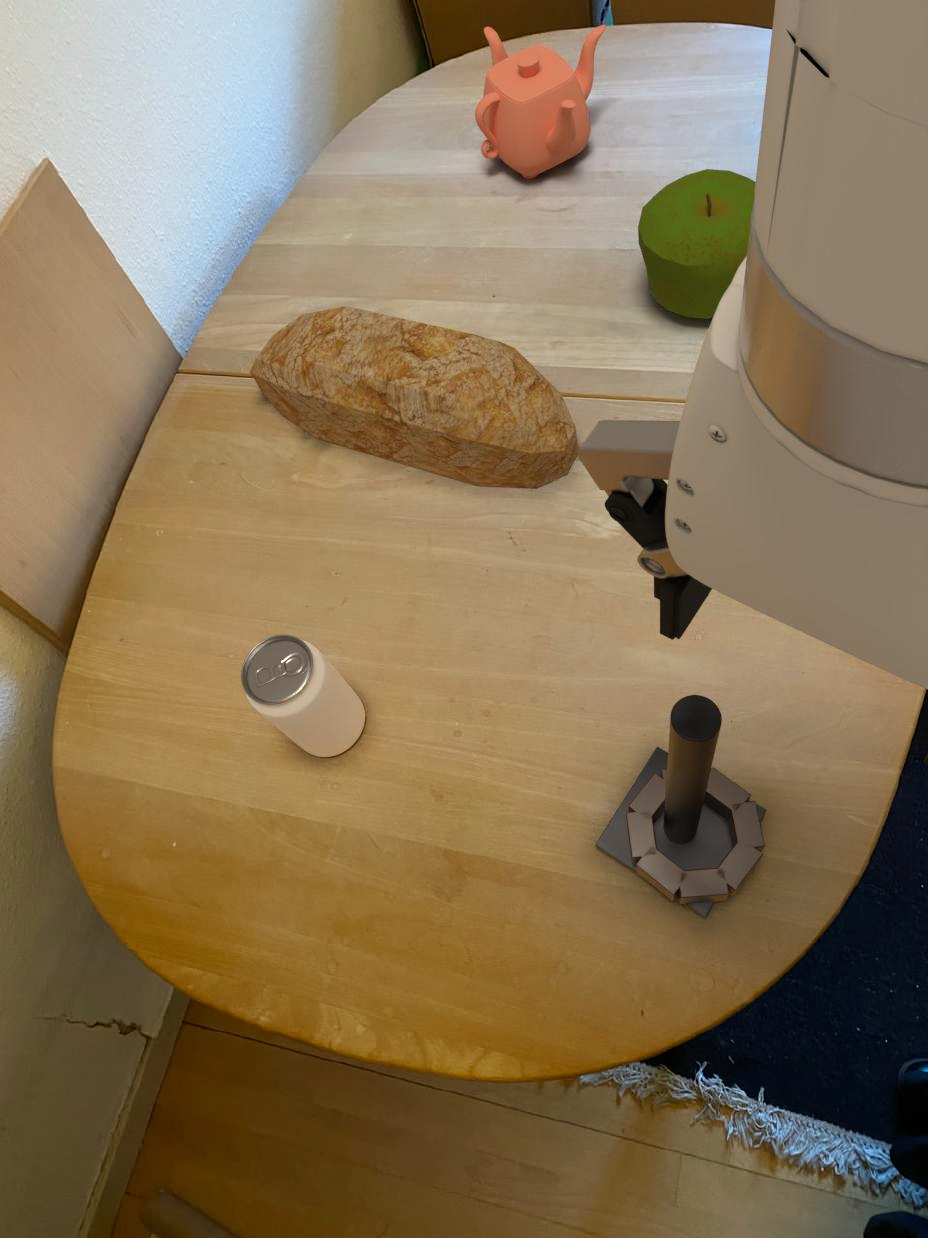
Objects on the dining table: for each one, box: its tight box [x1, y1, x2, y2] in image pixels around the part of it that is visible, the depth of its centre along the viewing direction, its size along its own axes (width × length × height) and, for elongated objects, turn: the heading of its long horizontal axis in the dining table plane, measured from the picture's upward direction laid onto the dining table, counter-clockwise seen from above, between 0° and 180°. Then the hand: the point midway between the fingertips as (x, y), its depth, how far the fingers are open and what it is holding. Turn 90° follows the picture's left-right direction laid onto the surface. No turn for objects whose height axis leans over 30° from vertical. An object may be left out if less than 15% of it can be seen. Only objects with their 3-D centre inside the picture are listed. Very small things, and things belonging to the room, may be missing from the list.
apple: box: [637, 168, 756, 320], centre depth 80 cm, size 12×12×11 cm
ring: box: [626, 766, 766, 905], centre depth 59 cm, size 9×9×3 cm
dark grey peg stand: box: [595, 694, 768, 920], centre depth 51 cm, size 9×9×25 cm
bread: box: [249, 306, 579, 489], centre depth 81 cm, size 36×11×10 cm, turn 63°
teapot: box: [474, 24, 607, 180], centre depth 95 cm, size 14×14×11 cm
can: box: [240, 634, 366, 758], centre depth 67 cm, size 6×6×12 cm
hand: (811, 667), depth 30 cm, fingers open, 9 cm apart
